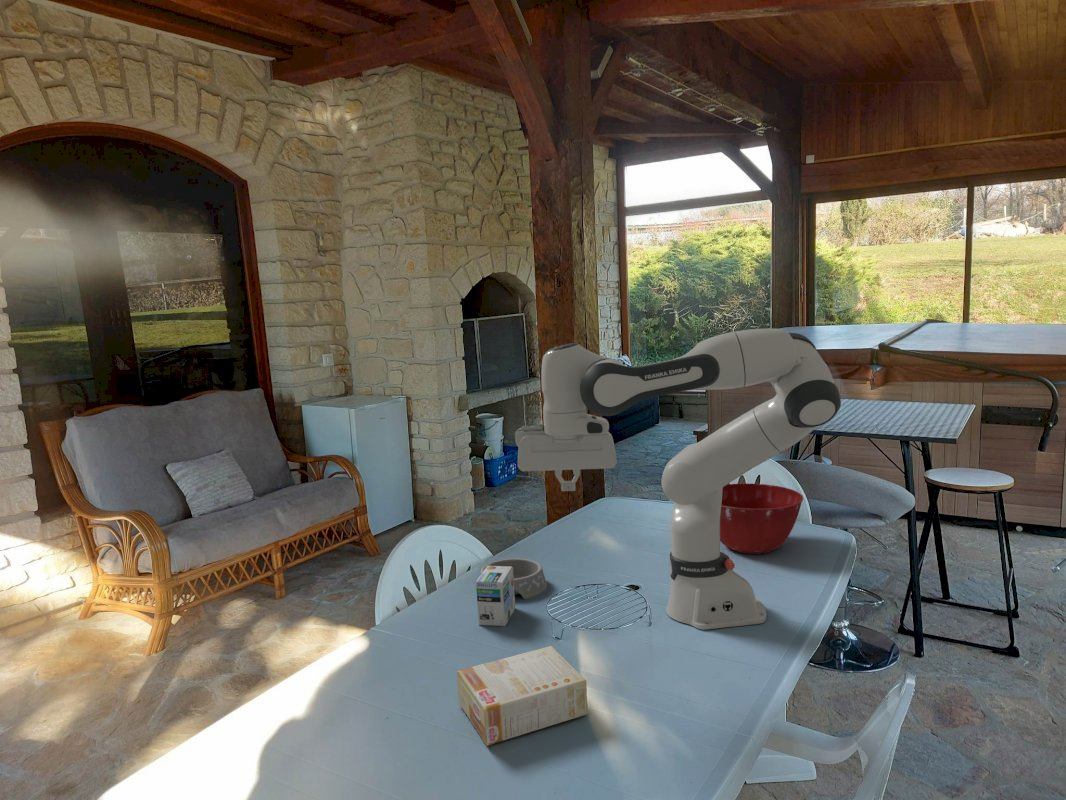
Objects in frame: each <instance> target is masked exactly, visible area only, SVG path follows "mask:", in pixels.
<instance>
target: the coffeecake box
mask: <svg viewBox="0 0 1066 800" xmlns="http://www.w3.org/2000/svg"><path fill="white" fill-rule="evenodd" d="M456 675H457V685H458V686H457V695H458V703H459V705H460V707H461V708H462V710H463V712H464V713H465V714H466V715H467V718H468V719H469V721H470V722H471V724H472V725H473V727H474V728H475V730H476V731H477V733H478V734H479V736H480V738H481V740H482V741H483V742H484V744H485V745H486V747H488V746H491V745H495V744H497V743H500V742H503V741H507V740H509V739H512V738H516V737H519V736H522V735H526V734H528V733H531V732H535V731H538V730H542V729H545V728H547V727H551V726H553V725H558V724H561V723H563V722H567V721H570V720H573V719H576V718H580V717H583V716H586V715H588V714H589V712H588V709H589V708H588V692H587V689H588V688H587V685H588V684H587V679H586V678H585V677H584V676H582V675H581V674H580V673H579V672H578V671H577V670H576V669H575V668H574V667H573V666H572V665H571V664H570V663H569V662H568V661H567V660H566V659H565V658H564V657H563V656H562V655H561V654H560V653H559V652H558V650H556V649H555V648H554V647H553V645H549V646H545V647H542V648H539V649H534V650H530V651H527V652H523V653H519V654H516V655H512V656H508V657H504V658H500V659H497V660H493V661H489V662H485V663H481V664H478V665H475V666H474V665H473V666H470V667H466V668H463V669H458V670H457V673H456Z"/></svg>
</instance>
